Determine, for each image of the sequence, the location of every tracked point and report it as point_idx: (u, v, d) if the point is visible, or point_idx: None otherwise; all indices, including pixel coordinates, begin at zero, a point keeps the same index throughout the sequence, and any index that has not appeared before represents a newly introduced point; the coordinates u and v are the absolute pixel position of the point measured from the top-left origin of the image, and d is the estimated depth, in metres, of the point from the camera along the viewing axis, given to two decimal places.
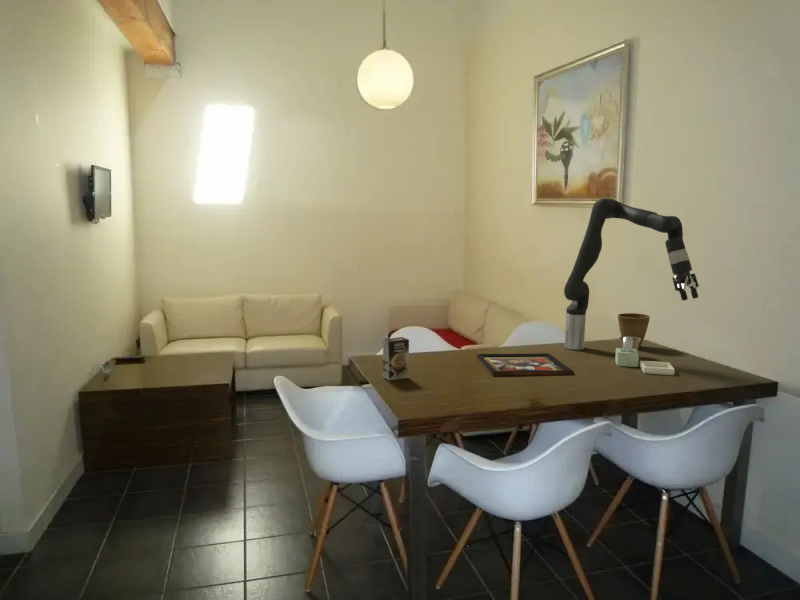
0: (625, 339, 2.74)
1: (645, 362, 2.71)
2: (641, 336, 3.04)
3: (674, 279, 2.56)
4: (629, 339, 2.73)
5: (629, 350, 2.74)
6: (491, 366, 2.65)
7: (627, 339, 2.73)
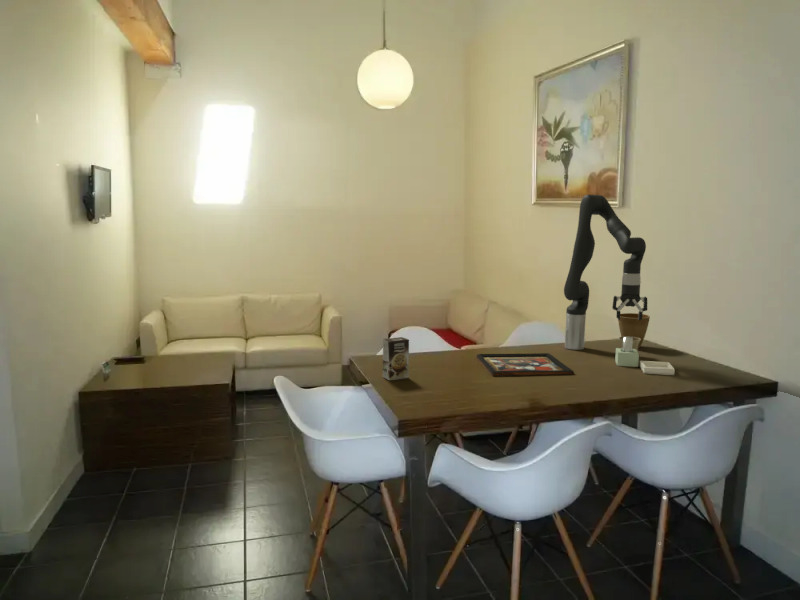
0: (625, 339, 2.74)
1: (645, 362, 2.71)
2: (641, 336, 3.04)
3: (613, 298, 2.74)
4: (629, 339, 2.73)
5: (629, 350, 2.74)
6: (491, 366, 2.65)
7: (627, 339, 2.73)
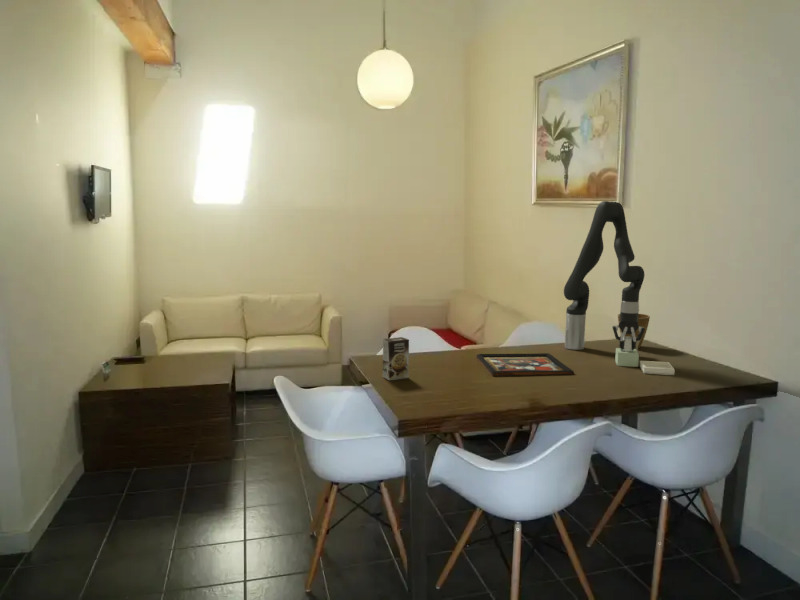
0: (625, 339, 2.74)
1: (645, 362, 2.71)
2: None
3: (613, 329, 2.76)
4: (629, 339, 2.73)
5: (629, 350, 2.74)
6: (491, 366, 2.65)
7: (627, 339, 2.73)
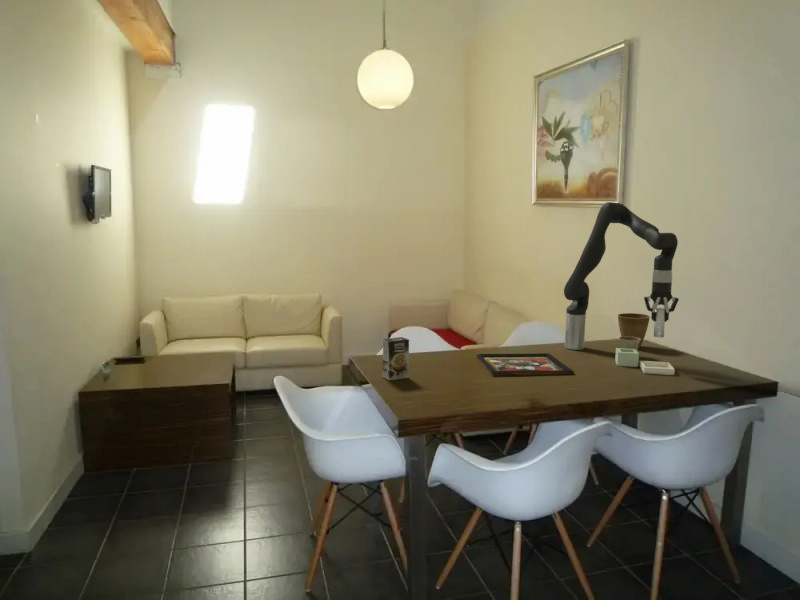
0: (658, 310, 2.61)
1: (645, 362, 2.71)
2: (641, 336, 3.04)
3: (644, 300, 2.63)
4: (661, 310, 2.60)
5: (662, 322, 2.61)
6: (491, 366, 2.65)
7: (660, 310, 2.60)
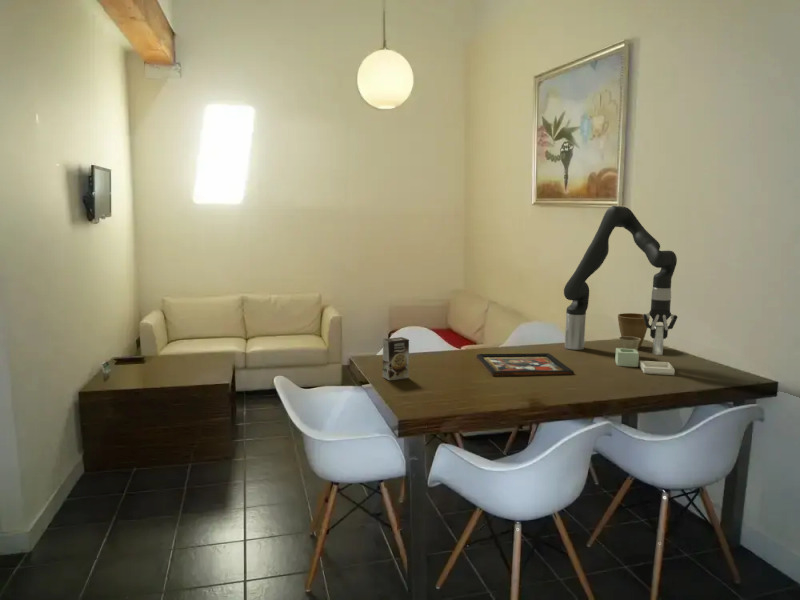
0: (656, 327, 2.62)
1: (645, 362, 2.71)
2: (641, 336, 3.04)
3: (643, 317, 2.64)
4: (660, 327, 2.61)
5: (661, 339, 2.62)
6: (491, 366, 2.65)
7: (659, 327, 2.61)
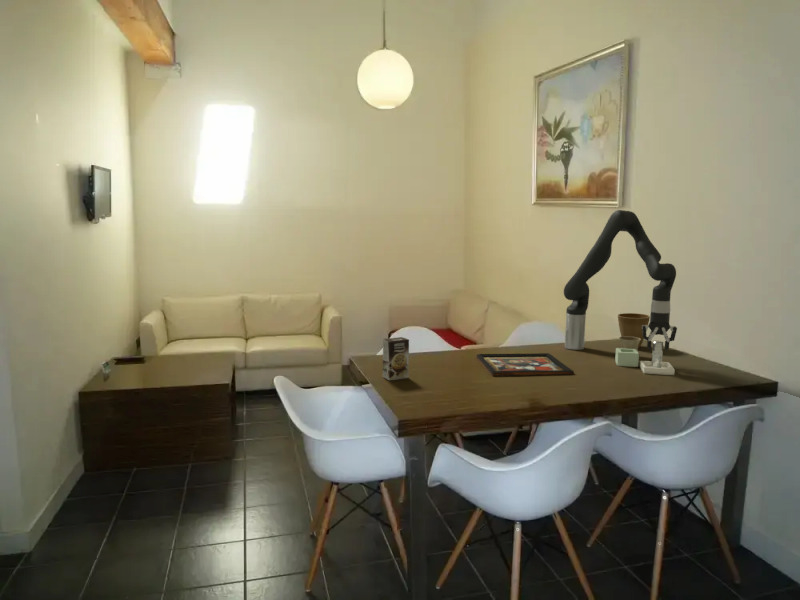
0: (655, 343, 2.63)
1: (645, 362, 2.71)
2: (641, 336, 3.04)
3: (642, 328, 2.65)
4: (659, 343, 2.62)
5: (659, 355, 2.63)
6: (491, 366, 2.65)
7: (657, 343, 2.62)
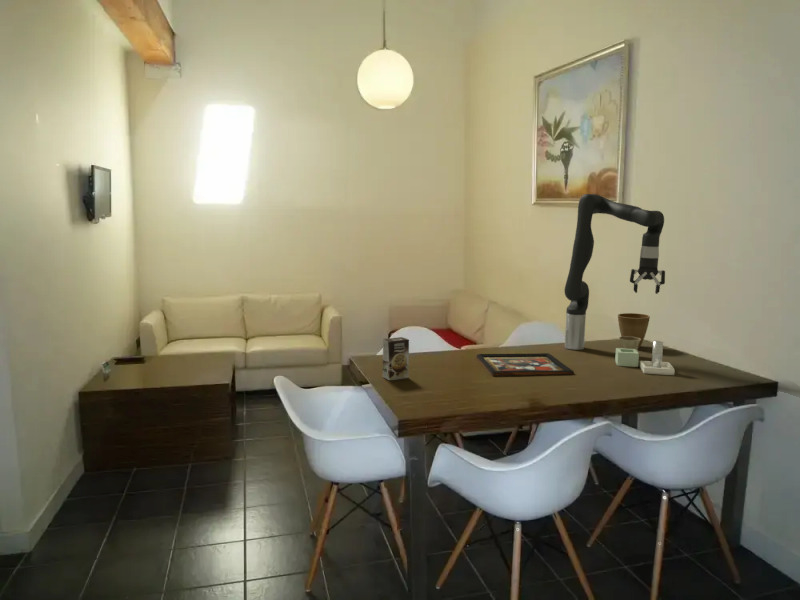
0: (655, 343, 2.63)
1: (645, 362, 2.71)
2: (641, 336, 3.04)
3: (631, 271, 2.76)
4: (659, 343, 2.62)
5: (659, 355, 2.63)
6: (491, 366, 2.65)
7: (657, 343, 2.62)
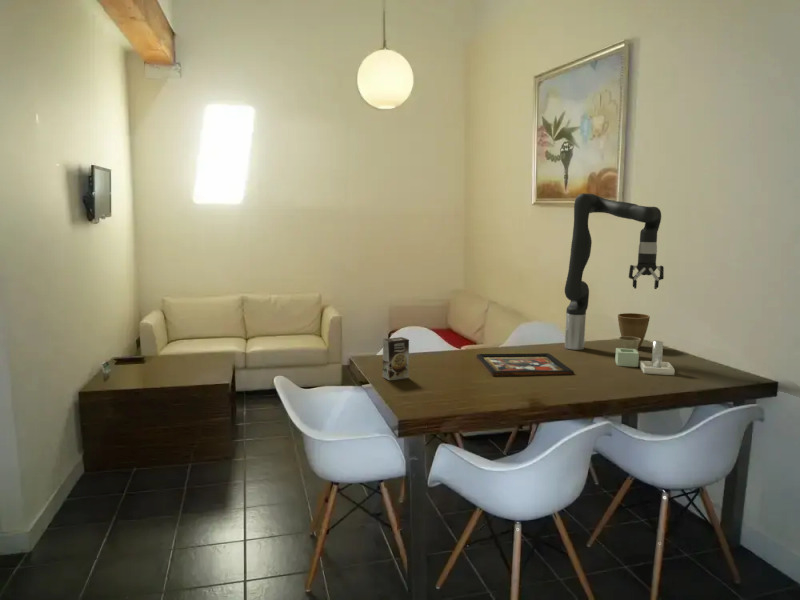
0: (655, 343, 2.63)
1: (645, 362, 2.71)
2: (641, 336, 3.04)
3: (630, 267, 2.78)
4: (659, 343, 2.62)
5: (659, 355, 2.63)
6: (491, 366, 2.65)
7: (657, 343, 2.62)
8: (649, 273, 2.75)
